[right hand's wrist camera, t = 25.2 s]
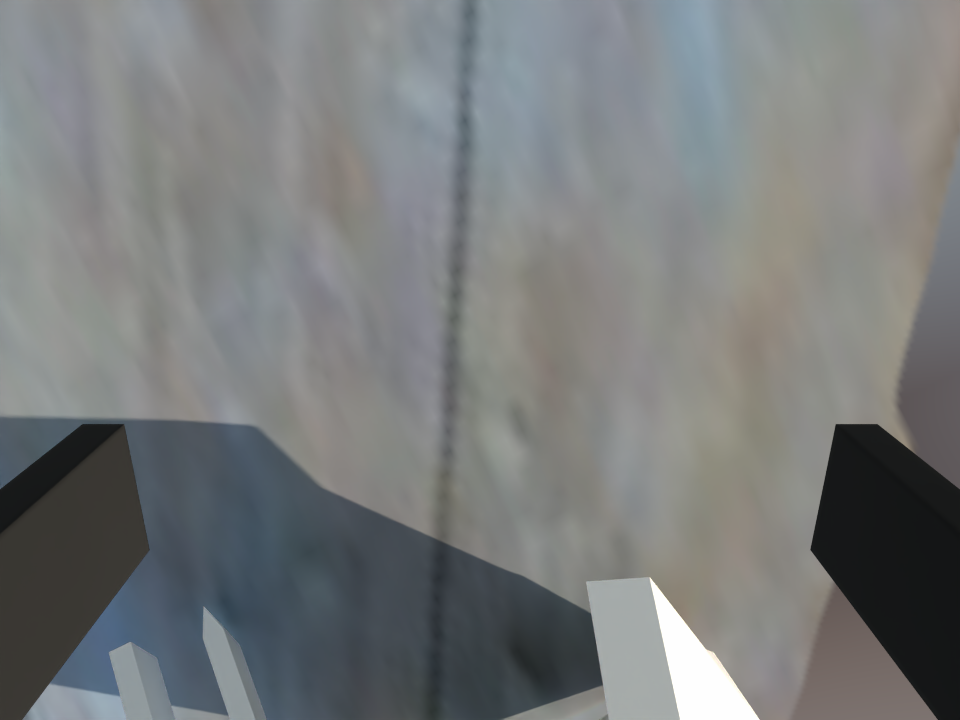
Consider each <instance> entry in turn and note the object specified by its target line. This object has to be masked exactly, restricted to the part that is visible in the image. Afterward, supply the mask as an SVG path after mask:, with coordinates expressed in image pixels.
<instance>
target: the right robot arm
mask: <svg viewBox="0 0 960 720" xmlns="http://www.w3.org/2000/svg"><path fill="white" fill-rule="evenodd" d="M148 551H149V545H148V540H147V535H146V530H145V525H144V520H143V515H142V510H141V505H140V500H139V495H138V490H137V485H136V481H135V476H134V471H133V466H132V461H131V456H130V451H129V446H128V441H127V436H126V431H125V426H124V424H82V425H81V426H80V427H78V428H77V429H76V430H75V431H73V432H72V433H71V434H70V435H68V436H67V437H66V438H65V439H63V440H62V441H61V442H60V443H58V444H57V445H56V446H55V447H53V448H52V449H51V450H49V451H48V452H47V453H46V454H44V455H43V456H42V457H41V458H39V459H38V460H37V461H36V462H34V463H33V464H32V465H31V466H29V467H28V468H27V469H25V470H24V471H23V472H22V473H20V474H19V475H18V476H17V477H15V478H14V479H13V480H12V481H10V482H9V483H8V484H7V485H5V486H4V487H3V488H1V489H0V720H22V719H23V718H24V716H25V715H26V714H27V712H28V711H29V710H30V708H31V707H32V706H33V705H34V703H35V702H36V701H37V699H38V698H39V697H40V695H41V694H42V693H43V691H44V690H45V689H46V687H47V686H48V685H49V683H50V682H51V681H52V679H53V678H54V677H55V675H56V674H57V673H58V671H59V670H60V669H61V667H62V666H63V665H64V663H65V662H66V661H67V659H68V658H69V657H70V655H71V654H72V653H73V651H74V650H75V649H76V647H77V646H78V645H79V643H80V642H81V641H82V639H83V638H84V637H85V635H86V634H87V633H88V631H89V630H90V629H91V627H92V626H93V625H94V623H95V622H96V621H97V619H98V618H99V617H100V615H101V614H102V613H103V611H104V610H105V609H106V607H107V606H108V605H109V603H110V602H111V601H112V599H113V598H114V597H115V595H116V594H117V593H118V591H119V590H120V589H121V587H122V586H123V585H124V583H125V582H126V581H127V579H128V578H129V577H130V575H131V574H132V573H133V571H134V570H135V569H136V567H137V566H138V565H139V563H140V562H141V561H142V559H143V558H144V557H145V555H146V554H147V553H148ZM811 551H812V553H813V554H814V555H815V557H816V558H817V559H818V561H819V562H820V563H821V565H822V566H823V567H824V569H825V570H826V571H827V573H828V574H829V575H830V577H831V578H832V579H833V581H834V582H835V583H836V585H837V586H838V587H839V589H840V590H841V591H842V593H843V594H844V595H845V597H846V598H847V599H848V601H849V602H850V603H851V605H852V606H853V607H854V609H855V610H856V611H857V613H858V614H859V615H860V617H861V618H862V619H863V621H864V622H865V623H866V625H867V626H868V627H869V628H870V630H871V631H872V633H873V634H874V635H875V637H876V638H877V639H878V641H879V642H880V643H881V645H882V646H883V647H884V649H885V650H886V651H887V653H888V654H889V655H890V656H891V658H892V659H893V660H894V662H895V663H896V664H897V666H898V667H899V669H900V670H901V671H902V673H903V674H904V675H905V677H906V678H907V679H908V680H909V682H910V683H911V684H912V686H913V687H914V688H915V690H916V691H917V692H918V694H919V695H920V697H921V698H922V699H923V700H924V702H925V703H926V704H927V706H928V707H929V709H930V710H931V711H932V712H933V714H934V715H935V716H936V718H937V719H938V720H960V489H958V488H957V487H956V486H955V485H953V484H952V483H951V482H950V481H948V480H947V479H946V478H945V477H943V476H942V475H941V474H940V473H938V472H937V471H936V470H935V469H933V468H932V467H931V466H929V465H928V464H927V463H926V462H924V461H923V460H922V459H921V458H919V457H918V456H917V455H916V454H914V453H913V452H912V451H911V450H909V449H908V448H907V447H905V446H904V445H903V444H902V443H900V442H899V441H898V440H897V439H895V438H894V437H893V436H892V435H890V434H889V433H888V432H887V431H885V430H884V429H883V428H882V427H880V426H879V425H878V424H836V426H835V431H834V436H833V441H832V446H831V451H830V456H829V461H828V466H827V471H826V476H825V481H824V485H823V490H822V495H821V500H820V505H819V510H818V515H817V520H816V525H815V530H814V535H813V540H812V545H811Z"/></svg>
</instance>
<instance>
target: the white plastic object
mask: <svg viewBox="0 0 960 720" xmlns="http://www.w3.org/2000/svg"><path fill="white" fill-rule="evenodd" d="M586 584H587V590H588V596H589V602H590V608H591V614H592V620H593V627H594V633H595V639H596V645H597V651H598V657H599V663H600V669H601V675H602V681H603V687H604V693H605V699H606V705H607V711H608V714H607V715H605V716H604V717H602V718H601V719H599V720H759V718H758V717H757V715H756V714H755V712H754V711H753V709H752V708H751V707H750V705H749V704H748V702H747V701H746V699H745V698H744V696H743V695H742V693H741V692H740V690H739V689H738V688H737V686H736V685H735V683H734V682H733V680H732V679H731V677H730V676H729V674H728V673H727V671H726V670H725V668H724V667H723V666H722V664H721V663H720V661H719V660H718V658H717V657H716V655H715V654H714V652H713V651H712V652H710V651H708V650H706V649H705V648H704V647H703V645H702V644H701V643H700V642H699V640H698V639H697V638H696V636H695V635H694V634H693V633H692V631H691V630H690V629H689V627H688V626H687V625H686V623H685V622H684V621H683V620H682V618H681V617H680V616H679V614H678V613H677V612H676V611H675V609H674V608H673V607H672V605H671V604H670V603H669V602H668V600H667V599H666V598H665V596H664V595H663V594H662V592H661V591H660V590H659V589H658V587H657V586H656V585H655V583H654V582H653V581H652V580H651V578H650V577H645V578H631V579H616V580H602V581H587V582H586ZM203 641H204V644H205V647H206V650H207V653H208V656H209V659H210V662H211V665H212V668H213V671H214V673H215V676H216V679H217V682H218V685H219V688H220V691H221V694H222V697H223V700H224V703H225V706H226V709H227V712H228V715H229V718H230V720H267V719H266V716H265V713H264V710H263V708H262V705H261V702H260V699H259V696H258V694H257V691H256V688H255V685H254V683H253V680H252V677H251V674H250V671H249V669H248V666H247V663H246V660H245V658H244V655H243V652H242V649H241V647H240V645H239V643H238V642H237V641H236V640H235V639H234V638H233V637H232V635H231V634H230V633H229V632H228V631H227V630H226V629H225V628H224V626H223V625H222V624H221V623H220V622H219V621H218V620H217V619H216V618H215V617H214V616H213V615H212V614H211V613H210V612H209V611H208V610H207V609H206V608H205V607H203ZM109 656H110V659H111V663H112V667H113V671H114V674H115V678H116V682H117V685H118V689H119V693H120V697H121V700H122V704H123V708H124V712H125V715H126V719H127V720H175V717H174V713H173V710H172V707H171V703H170V700H169V697H168V693H167V690H166V687H165V683H164V680H163V677H162V673H161V670H160V667H159V663H158V660H157V657H155V656H153V655H152V654H150V653H148V652H147V651H145V650H143V649H142V648H140V647H139V646H137V645H135V644H134V643H132V642H129V643H127V644H125V645H123V646H120V647H118V648H116V649H114V650H112V651H110V652H109Z"/></svg>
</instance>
